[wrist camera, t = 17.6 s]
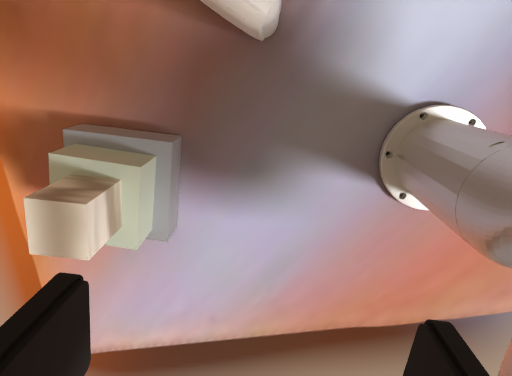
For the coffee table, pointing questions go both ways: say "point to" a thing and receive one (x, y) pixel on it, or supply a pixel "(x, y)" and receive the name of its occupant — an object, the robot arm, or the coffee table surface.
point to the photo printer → (249, 15)
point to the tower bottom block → (150, 144)
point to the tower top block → (114, 167)
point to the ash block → (73, 216)
